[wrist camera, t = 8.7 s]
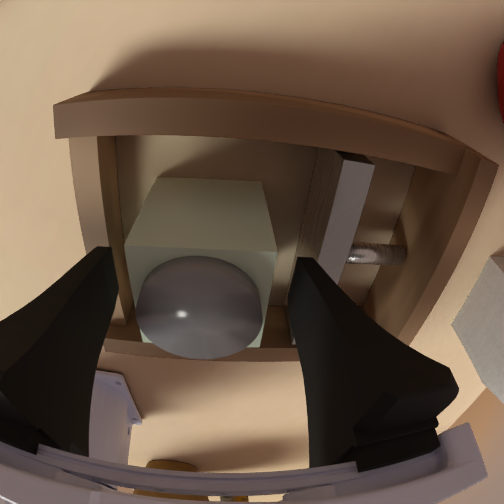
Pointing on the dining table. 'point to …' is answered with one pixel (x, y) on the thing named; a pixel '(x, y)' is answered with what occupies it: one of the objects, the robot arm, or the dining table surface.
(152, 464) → the plant pot
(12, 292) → the dining table surface
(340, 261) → the pusher plate
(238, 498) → the condiment
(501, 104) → the apple
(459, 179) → the brown wooden shallow box
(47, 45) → the dining table surface
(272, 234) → the jar
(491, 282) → the milk carton
